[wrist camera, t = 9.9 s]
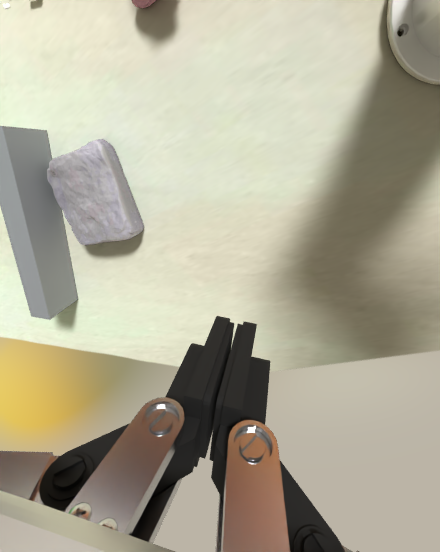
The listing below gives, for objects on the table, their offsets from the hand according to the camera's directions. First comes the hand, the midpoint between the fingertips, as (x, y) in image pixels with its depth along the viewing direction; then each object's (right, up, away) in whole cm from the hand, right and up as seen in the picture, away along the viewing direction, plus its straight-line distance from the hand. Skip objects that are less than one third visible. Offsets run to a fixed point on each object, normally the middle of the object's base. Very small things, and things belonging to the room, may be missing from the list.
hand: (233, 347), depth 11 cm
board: (-24, +10, +27) cm, 38 cm away
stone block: (-16, +14, +25) cm, 33 cm away
